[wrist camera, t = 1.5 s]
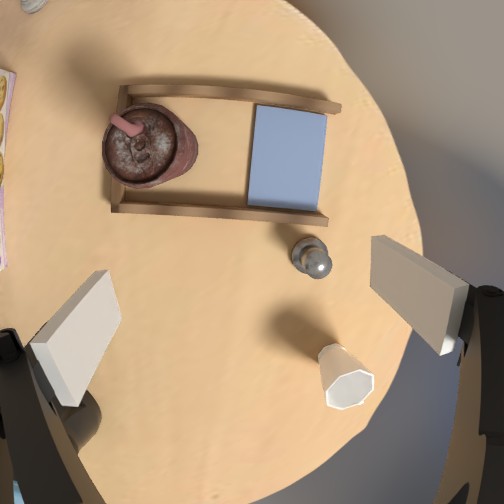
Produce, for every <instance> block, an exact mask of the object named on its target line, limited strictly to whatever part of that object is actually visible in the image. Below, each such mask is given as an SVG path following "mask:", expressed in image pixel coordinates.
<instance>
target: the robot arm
mask: <svg viewBox="0 0 504 504" xmlns="http://www.w3.org/2000/svg"><path fill="white" fill-rule="evenodd" d="M370 287H371V288H372V289H373V290H374V291H375V292H376V293H377V294H378V295H379V296H380V297H381V298H382V299H384V300H385V301H386V302H387V303H388V304H389V305H390V306H391V307H392V308H393V309H394V310H395V311H396V312H397V313H398V314H399V315H400V316H401V317H402V318H403V319H404V320H405V321H406V322H407V323H408V324H409V325H410V326H411V327H412V328H413V329H414V330H415V331H416V332H417V333H418V334H419V335H420V336H421V337H422V338H423V339H424V340H425V341H426V342H427V343H428V344H429V345H430V346H431V347H432V348H433V349H434V350H435V351H436V352H437V353H438V354H439V355H443V354H446V353H448V352H451V351H453V350H455V347H456V343H457V339H458V336H459V337H460V338H461V339H462V340H463V341H464V343H463V346H462V350H461V353H460V357H459V360H458V363H457V366H459V365H460V363H461V366H460V379H459V389H458V398H457V405H456V412H455V418H454V425H453V430H452V436H451V441H450V446H449V450H448V455H447V459H446V463H445V467H444V471H443V475H442V479H441V483H440V486H439V489H438V492H437V495H436V497H435V500H434V502H433V503H432V504H504V291H502V290H501V289H499V288H497V287H494V286H489V285H483V286H479V287H478V288H476V287H474V286H472V285H471V284H469V283H468V282H466V281H464V280H463V279H460V278H459V277H458V276H456V275H454V274H453V273H451V272H450V271H448V270H446V269H443V268H442V267H440V266H438V265H437V264H435V263H433V262H431V261H430V260H428V259H426V258H425V257H423V256H421V255H419V254H418V253H416V252H414V251H412V250H411V249H409V248H407V247H405V246H403V245H402V244H400V243H398V242H396V241H394V240H393V239H391V238H389V237H387V236H385V235H380V236H372V237H371V271H370ZM121 320H122V316H121V313H120V309H119V306H118V303H117V299H116V296H115V292H114V288H113V285H112V281H111V277H110V273H109V270H101V271H95V272H94V273H93V274H92V275H91V276H90V277H89V278H88V279H87V280H86V281H85V282H84V283H83V284H82V285H81V287H80V288H79V289H78V290H77V291H76V292H75V293H74V294H73V295H72V296H71V297H70V298H69V299H68V300H67V301H66V302H65V303H64V305H63V306H62V307H61V308H60V309H59V310H58V311H57V312H56V313H55V314H54V316H53V317H52V318H51V319H50V320H49V321H48V322H46V323H45V324H44V325H43V326H42V327H41V329H40V331H38V332H37V333H36V334H35V336H34V337H33V338H32V339H31V340H30V341H29V342H28V344H27V345H26V346H25V347H24V348H23V345H22V343H21V341H20V339H19V336H18V334H17V332H16V330H15V329H13V328H6V329H3V330H0V504H106V503H105V501H104V500H103V498H102V496H101V495H100V493H99V492H98V490H97V489H96V487H95V485H94V484H93V482H92V480H91V479H90V477H89V475H88V473H87V472H86V470H85V468H84V466H83V464H82V463H81V461H80V459H79V457H78V453H79V451H80V449H81V448H82V447H83V446H84V445H85V444H86V443H87V442H88V441H89V440H90V439H91V438H92V437H93V436H94V435H95V434H96V432H97V430H98V428H99V425H100V422H101V411H100V408H99V406H98V404H97V402H96V401H95V399H94V398H93V397H92V396H91V394H90V393H89V392H88V391H87V390H86V389H87V387H88V385H89V383H90V381H91V379H92V377H93V375H94V372H95V370H96V368H97V366H98V364H99V362H100V360H101V358H102V357H103V355H104V353H105V351H106V349H107V347H108V345H109V343H110V341H111V339H112V337H113V335H114V333H115V332H116V330H117V328H118V326H119V324H120V322H121Z"/></svg>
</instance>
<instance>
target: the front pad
mask: <svg viewBox="0 0 504 504" xmlns="http://www.w3.org/2000/svg"><path fill="white" fill-rule="evenodd" d="M326 124H327V116H326V115H320V114H315V113H309V112H303V111H297V110H290V109H283V108H276V107H268V106H260V105H257V109H256V119H255V129H254V139H253V149H252V159H251V169H250V180H249V190H248V201H247V205H254V206H266V207H278V208H289V209H299V210H309V211H317V205H318V198H319V190H320V181H321V173H322V164H323V155H324V145H325V135H326Z"/></svg>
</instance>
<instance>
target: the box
mask: <svg viewBox="0 0 504 504" xmlns="http://www.w3.org/2000/svg"><path fill="white" fill-rule="evenodd" d="M15 78H16V73H12V72H9V71H6V70H3V69H0V271H2V270H3V269H4V268H6V267H7V257H6V246H5V233H4V212H3V178H4V157H5V144H6V134H7V125H8V118H9V111H10V104H11V98H12V93H13V88H14V83H15Z"/></svg>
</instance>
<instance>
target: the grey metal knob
mask: <svg viewBox="0 0 504 504" xmlns="http://www.w3.org/2000/svg"><path fill="white" fill-rule="evenodd" d="M292 262H293V264H294V266H295V267H296V268H297V269H298V270H299V271H300V272H302V273H305V274H308V275H309V276H310V277H312V278H314V279H321V278H324V277H326V276H327V275H328V274H329V273H330V271H331V269H332V260H331V258H330V257H329V256H328V250H327V247H326V246H325V244H324V243H323V242H322V241H321V240H319V239H317V238H314V237H307V238H304V239H302V240H300V241H299V242H298V243H297V244H296V245H295V246H294V248H293V251H292Z"/></svg>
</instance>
